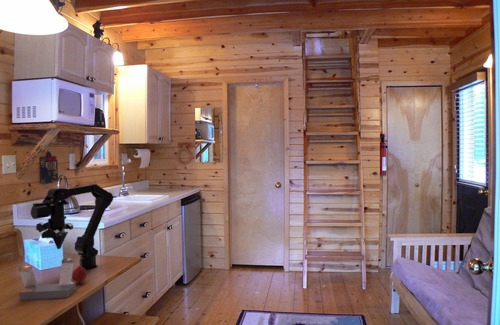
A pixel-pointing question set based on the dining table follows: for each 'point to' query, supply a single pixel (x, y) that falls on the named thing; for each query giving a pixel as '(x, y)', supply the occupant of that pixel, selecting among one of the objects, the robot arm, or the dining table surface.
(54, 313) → the dining table surface
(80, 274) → the onion
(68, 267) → the grey lever
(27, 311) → the dining table surface
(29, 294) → the switch box
